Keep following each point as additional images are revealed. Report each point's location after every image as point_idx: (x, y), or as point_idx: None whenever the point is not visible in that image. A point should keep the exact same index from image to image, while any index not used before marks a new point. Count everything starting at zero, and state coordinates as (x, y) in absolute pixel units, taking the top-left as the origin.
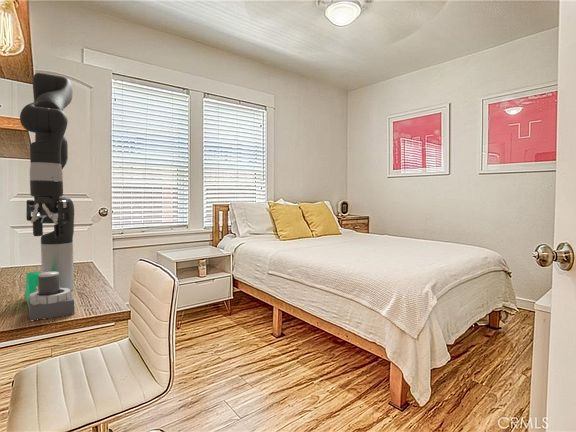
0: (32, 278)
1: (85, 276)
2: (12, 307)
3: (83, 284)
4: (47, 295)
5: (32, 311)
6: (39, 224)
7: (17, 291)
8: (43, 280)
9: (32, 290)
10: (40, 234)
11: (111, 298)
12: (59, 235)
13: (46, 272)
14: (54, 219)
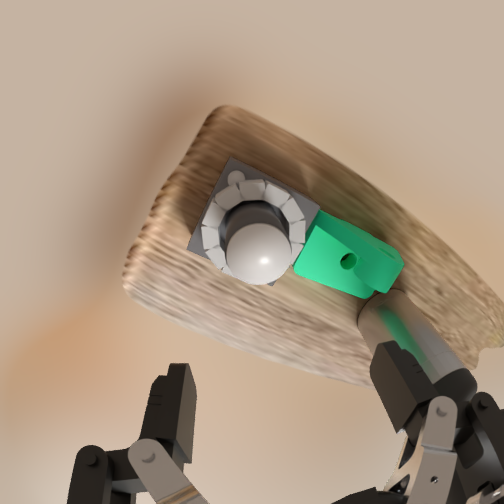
0: (369, 257)
1: None
2: (375, 204)
3: (371, 357)
4: (227, 210)
5: (227, 162)
6: (400, 416)
7: (449, 274)
8: (241, 221)
9: (343, 235)
10: (375, 369)
11: (224, 334)
12: (158, 380)
13: (283, 261)
14: (157, 477)
